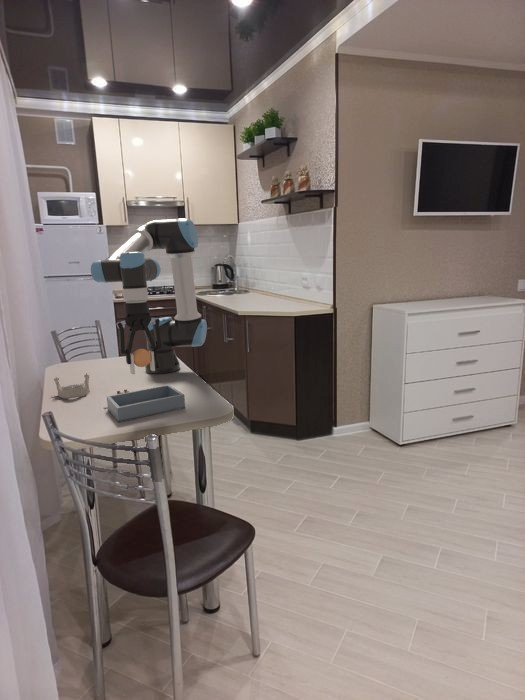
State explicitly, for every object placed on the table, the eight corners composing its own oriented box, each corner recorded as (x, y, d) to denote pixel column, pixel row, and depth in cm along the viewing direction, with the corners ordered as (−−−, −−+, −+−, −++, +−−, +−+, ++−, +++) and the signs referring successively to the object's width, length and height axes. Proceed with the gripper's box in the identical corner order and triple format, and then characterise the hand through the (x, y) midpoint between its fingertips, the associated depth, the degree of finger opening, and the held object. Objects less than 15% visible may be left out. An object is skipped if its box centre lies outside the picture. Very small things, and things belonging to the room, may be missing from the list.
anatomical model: (54, 400, 164) (51, 373, 166) (57, 404, 174) (53, 378, 176) (92, 394, 169) (88, 368, 171) (92, 398, 179) (89, 373, 181)
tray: (170, 396, 166) (168, 384, 165) (185, 407, 153) (184, 394, 152) (108, 409, 155) (106, 396, 154) (118, 422, 143) (117, 408, 142)
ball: (148, 363, 154) (147, 346, 153) (154, 367, 149) (152, 348, 148) (130, 366, 151) (129, 348, 150) (135, 369, 146) (134, 351, 145)
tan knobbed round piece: (121, 398, 167) (120, 389, 166) (132, 398, 166) (131, 389, 165) (115, 402, 163) (114, 392, 162) (126, 402, 161) (125, 393, 161)
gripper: (161, 298, 154) (166, 365, 158) (103, 303, 144) (110, 374, 149) (168, 299, 147) (174, 369, 152) (108, 304, 138) (116, 379, 142)
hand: (142, 371), depth 150 cm, fingers closed on ball, 6 cm apart
